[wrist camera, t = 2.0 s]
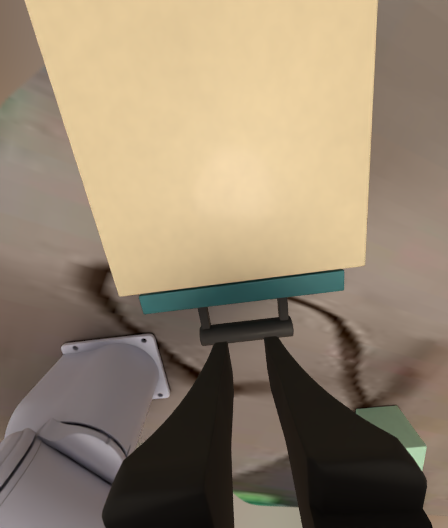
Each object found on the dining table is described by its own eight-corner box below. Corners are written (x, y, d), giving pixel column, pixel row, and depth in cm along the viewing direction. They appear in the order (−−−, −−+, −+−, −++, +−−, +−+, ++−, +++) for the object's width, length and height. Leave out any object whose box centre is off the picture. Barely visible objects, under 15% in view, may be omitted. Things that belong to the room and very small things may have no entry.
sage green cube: (354, 436, 29) (375, 480, 25) (355, 408, 28) (378, 450, 23) (393, 433, 29) (421, 477, 25) (396, 405, 27) (427, 446, 23)
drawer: (307, 299, 22) (343, 356, 15) (181, 314, 23) (161, 375, 16) (298, 53, 16) (350, -37, 9) (127, 84, 17) (58, 22, 10)
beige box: (308, 228, 21) (365, 266, 12) (162, 248, 22) (118, 297, 13) (302, 5, 16) (387, -192, 7) (113, 41, 17) (-8, -98, 8)
